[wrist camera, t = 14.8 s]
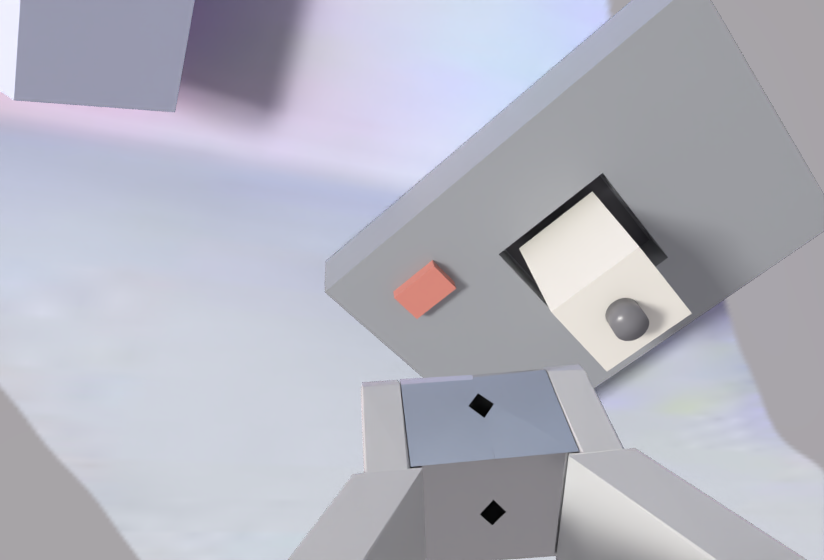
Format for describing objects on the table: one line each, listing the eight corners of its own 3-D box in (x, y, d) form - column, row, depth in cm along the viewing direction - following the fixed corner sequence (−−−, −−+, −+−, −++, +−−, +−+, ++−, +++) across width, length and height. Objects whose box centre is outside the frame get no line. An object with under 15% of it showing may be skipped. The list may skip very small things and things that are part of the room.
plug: (583, 181, 32) (649, 259, 25) (630, 239, 34) (703, 326, 27) (513, 237, 33) (558, 325, 26) (561, 290, 35) (615, 386, 28)
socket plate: (666, -29, 29) (706, -20, 25) (801, 196, 35) (847, 226, 31) (325, 261, 34) (324, 298, 31) (494, 413, 40) (507, 457, 37)
